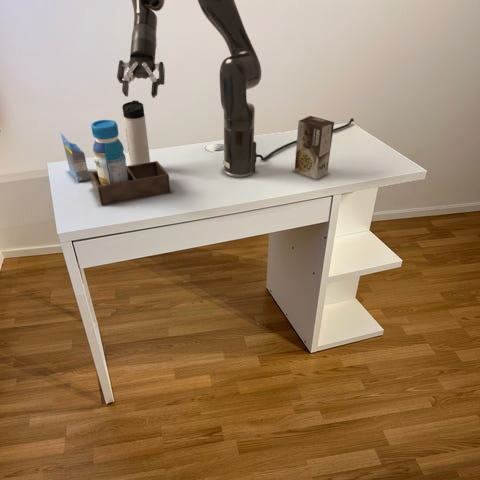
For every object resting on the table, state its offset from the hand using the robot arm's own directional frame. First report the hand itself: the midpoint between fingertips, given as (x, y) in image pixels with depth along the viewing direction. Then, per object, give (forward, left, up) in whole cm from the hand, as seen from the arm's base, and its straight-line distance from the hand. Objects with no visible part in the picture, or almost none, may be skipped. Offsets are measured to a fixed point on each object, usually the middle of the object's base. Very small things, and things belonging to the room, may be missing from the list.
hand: (139, 95), depth 141 cm
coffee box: (-45, +31, -20) cm, 58 cm away
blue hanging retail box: (+23, +4, -20) cm, 31 cm away
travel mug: (+4, +7, -20) cm, 22 cm away
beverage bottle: (+16, +21, -20) cm, 33 cm away
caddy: (+11, +21, -20) cm, 31 cm away
